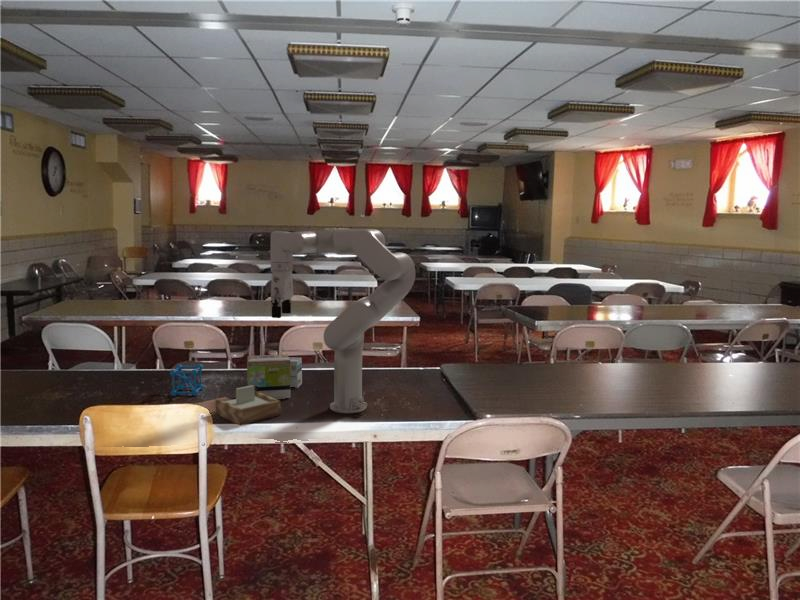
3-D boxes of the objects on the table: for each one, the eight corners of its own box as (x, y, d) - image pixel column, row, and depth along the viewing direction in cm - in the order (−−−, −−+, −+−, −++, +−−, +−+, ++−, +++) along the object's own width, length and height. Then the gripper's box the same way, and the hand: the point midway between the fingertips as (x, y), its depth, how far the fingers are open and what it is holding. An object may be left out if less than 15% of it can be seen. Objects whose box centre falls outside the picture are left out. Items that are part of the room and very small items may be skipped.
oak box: (280, 415, 204) (280, 400, 204) (239, 425, 194) (239, 410, 194) (255, 404, 216) (255, 390, 215) (215, 413, 206) (215, 399, 205)
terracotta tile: (242, 406, 214) (242, 404, 213) (210, 413, 205) (210, 412, 205) (225, 398, 222) (225, 397, 222) (194, 405, 214) (194, 403, 214)
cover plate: (274, 406, 204) (274, 388, 203) (241, 414, 196) (240, 396, 195) (254, 397, 214) (253, 380, 213) (221, 405, 205) (220, 387, 204)
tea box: (248, 402, 218) (247, 361, 216) (247, 394, 228) (246, 355, 226) (291, 399, 223) (290, 359, 221) (288, 391, 232) (287, 353, 230)
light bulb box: (302, 383, 243) (302, 357, 241) (298, 388, 236) (297, 361, 235) (276, 382, 244) (275, 356, 242) (270, 387, 237) (270, 360, 236)
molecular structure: (204, 389, 234) (203, 363, 233) (197, 396, 224) (196, 370, 223) (177, 389, 233) (176, 363, 232) (169, 397, 224) (168, 370, 222)
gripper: (283, 269, 205) (282, 320, 207) (300, 265, 222) (299, 312, 224) (261, 268, 206) (261, 318, 208) (280, 264, 223) (280, 311, 225)
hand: (281, 315), depth 216 cm, fingers open, 9 cm apart
